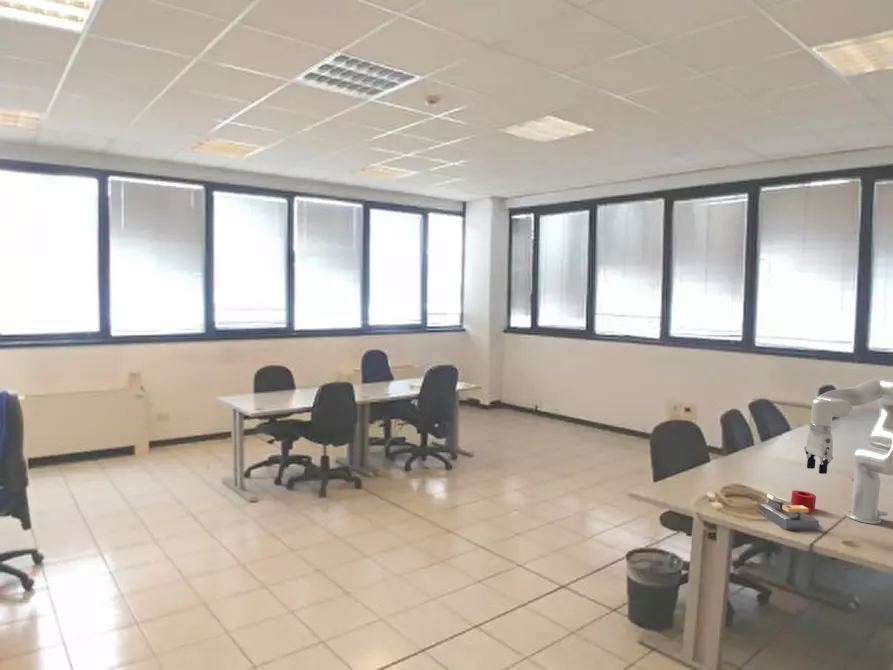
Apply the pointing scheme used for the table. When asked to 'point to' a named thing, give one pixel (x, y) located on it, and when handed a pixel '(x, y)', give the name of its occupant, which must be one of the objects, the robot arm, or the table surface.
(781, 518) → the breaker strip
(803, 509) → the breaker lever
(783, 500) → the block
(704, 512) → the table surface
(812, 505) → the lever
